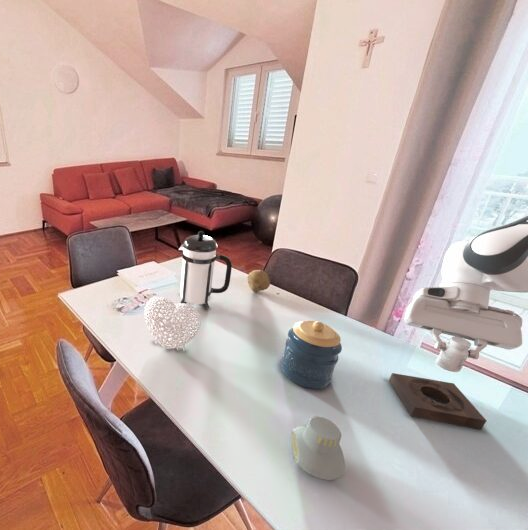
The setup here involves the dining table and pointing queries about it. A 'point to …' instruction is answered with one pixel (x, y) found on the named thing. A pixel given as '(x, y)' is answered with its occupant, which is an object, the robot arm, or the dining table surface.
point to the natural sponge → (258, 280)
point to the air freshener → (318, 448)
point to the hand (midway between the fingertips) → (455, 353)
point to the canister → (311, 354)
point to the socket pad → (448, 411)
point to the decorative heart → (171, 322)
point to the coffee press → (200, 269)
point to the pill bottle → (454, 354)
